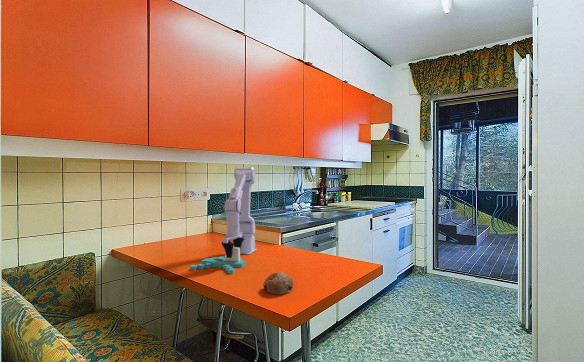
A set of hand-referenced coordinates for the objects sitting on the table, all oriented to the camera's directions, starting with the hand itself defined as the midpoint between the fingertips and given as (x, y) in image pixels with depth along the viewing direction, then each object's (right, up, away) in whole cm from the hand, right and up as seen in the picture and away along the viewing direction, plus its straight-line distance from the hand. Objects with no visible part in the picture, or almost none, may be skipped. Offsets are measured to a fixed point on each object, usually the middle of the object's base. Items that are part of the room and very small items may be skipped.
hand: (233, 255), depth 145 cm
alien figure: (-5, -5, -1) cm, 7 cm away
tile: (0, -2, 0) cm, 2 cm away
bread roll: (+22, -5, -31) cm, 38 cm away
